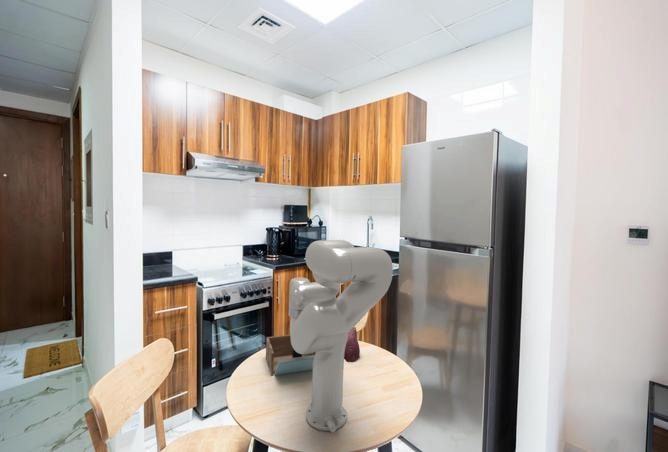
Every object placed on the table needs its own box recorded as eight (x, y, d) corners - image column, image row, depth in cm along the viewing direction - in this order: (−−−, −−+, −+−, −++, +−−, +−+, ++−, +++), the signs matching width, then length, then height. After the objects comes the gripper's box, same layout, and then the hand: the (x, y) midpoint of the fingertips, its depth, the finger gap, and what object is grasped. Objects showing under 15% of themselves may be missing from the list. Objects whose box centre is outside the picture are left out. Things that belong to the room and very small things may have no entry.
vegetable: (358, 359, 139) (367, 327, 140) (357, 367, 129) (367, 333, 130) (336, 351, 140) (345, 320, 141) (334, 359, 130) (344, 325, 131)
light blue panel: (313, 369, 120) (319, 357, 114) (274, 375, 115) (278, 362, 108) (313, 366, 121) (318, 354, 114) (274, 372, 116) (278, 359, 109)
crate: (316, 371, 121) (317, 347, 120) (271, 379, 115) (271, 353, 114) (306, 354, 135) (307, 332, 134) (265, 360, 129) (266, 337, 128)
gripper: (314, 318, 107) (312, 368, 108) (303, 304, 121) (301, 349, 122) (293, 320, 104) (291, 371, 106) (284, 305, 118) (283, 351, 120)
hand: (296, 359), depth 114 cm, fingers closed
